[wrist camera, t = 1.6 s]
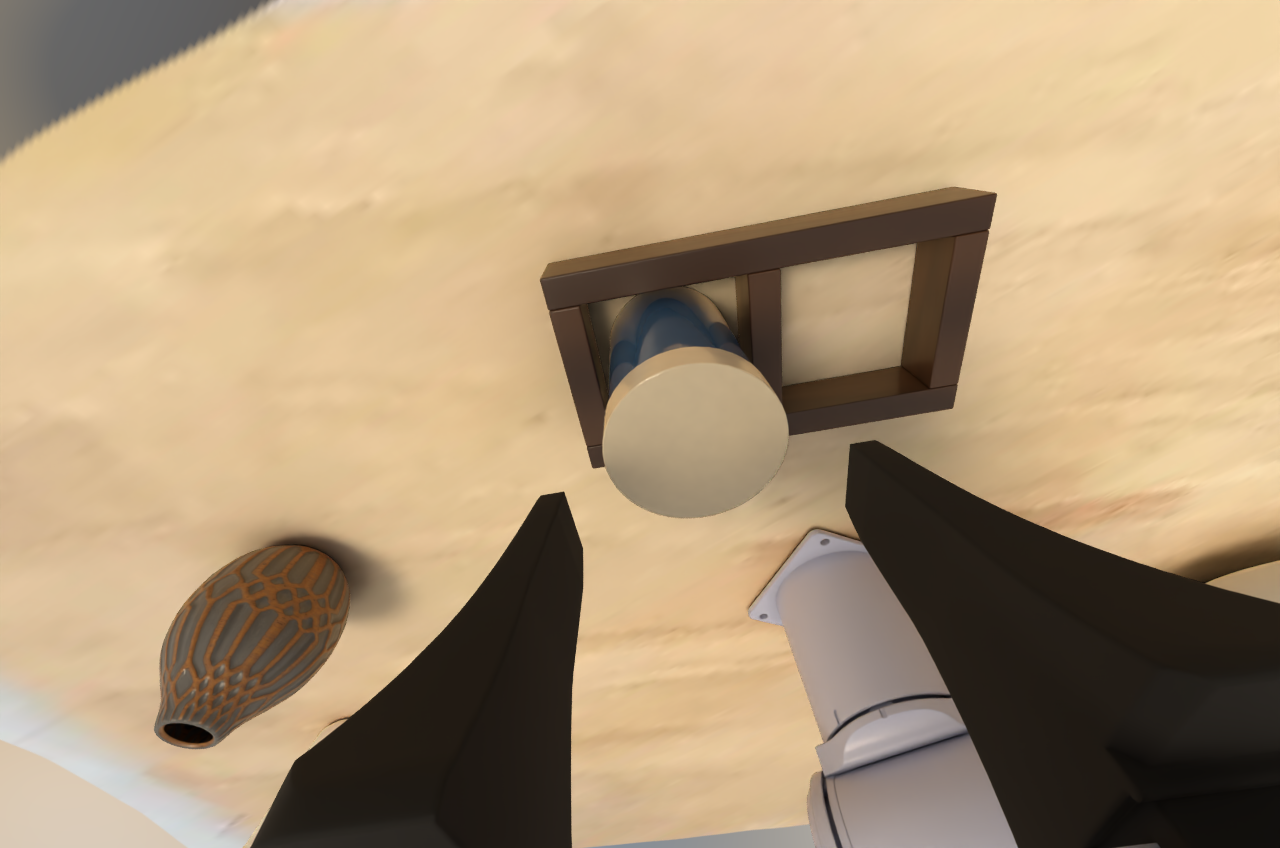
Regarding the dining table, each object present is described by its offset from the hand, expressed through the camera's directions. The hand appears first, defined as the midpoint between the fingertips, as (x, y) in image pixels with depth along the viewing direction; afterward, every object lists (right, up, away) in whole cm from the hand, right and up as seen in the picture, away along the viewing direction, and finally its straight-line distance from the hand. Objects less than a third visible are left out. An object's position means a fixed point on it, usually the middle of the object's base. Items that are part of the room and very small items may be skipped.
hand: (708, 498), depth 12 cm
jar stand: (+3, +6, +9) cm, 11 cm away
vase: (-21, -6, +15) cm, 27 cm away
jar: (-1, +5, +9) cm, 10 cm away
